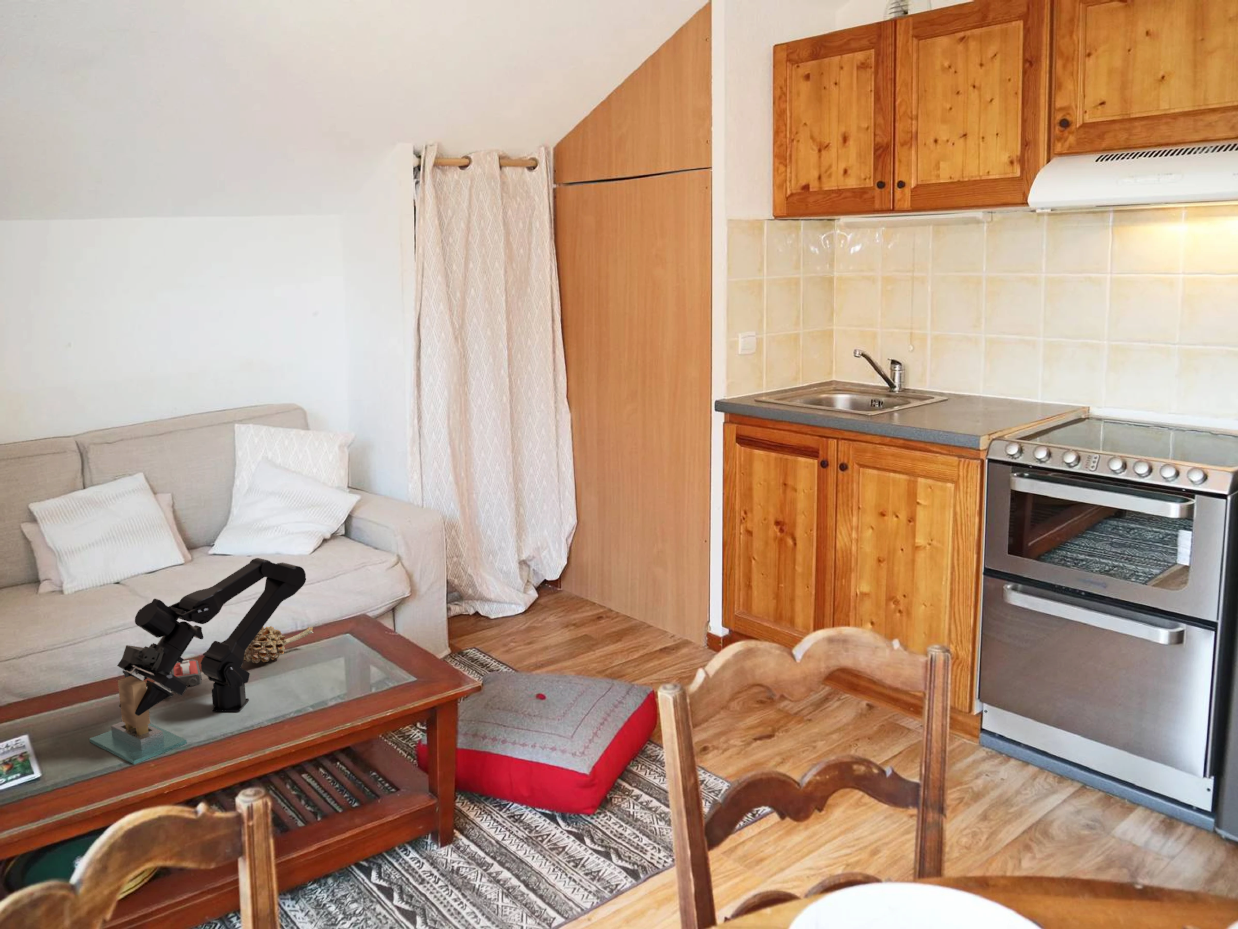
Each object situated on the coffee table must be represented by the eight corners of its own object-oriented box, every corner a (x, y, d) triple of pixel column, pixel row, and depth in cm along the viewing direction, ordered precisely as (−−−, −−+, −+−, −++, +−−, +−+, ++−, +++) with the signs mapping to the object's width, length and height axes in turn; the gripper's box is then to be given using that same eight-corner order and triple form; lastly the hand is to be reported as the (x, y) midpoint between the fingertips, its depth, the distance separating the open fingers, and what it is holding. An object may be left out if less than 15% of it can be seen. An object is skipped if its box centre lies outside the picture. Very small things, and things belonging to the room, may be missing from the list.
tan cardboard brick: (123, 736, 233) (117, 680, 231) (136, 731, 236) (130, 675, 233) (138, 743, 230) (132, 686, 227) (151, 738, 232) (145, 682, 230)
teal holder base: (89, 742, 234) (88, 728, 233) (141, 722, 243) (140, 709, 242) (134, 764, 223) (132, 749, 222) (186, 743, 232) (185, 729, 232)
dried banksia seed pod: (249, 675, 270) (246, 637, 268) (228, 666, 276) (225, 629, 274) (323, 650, 287) (320, 614, 285) (302, 642, 293) (300, 607, 291)
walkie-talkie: (162, 674, 273) (164, 703, 255) (160, 657, 272) (163, 685, 254) (199, 668, 276) (204, 696, 258) (197, 652, 275) (202, 679, 257)
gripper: (121, 621, 237) (77, 685, 230) (168, 638, 226) (123, 705, 219) (158, 645, 245) (116, 706, 238) (205, 662, 234) (163, 728, 227)
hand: (128, 711), depth 230 cm, fingers closed on tan cardboard brick, 6 cm apart
